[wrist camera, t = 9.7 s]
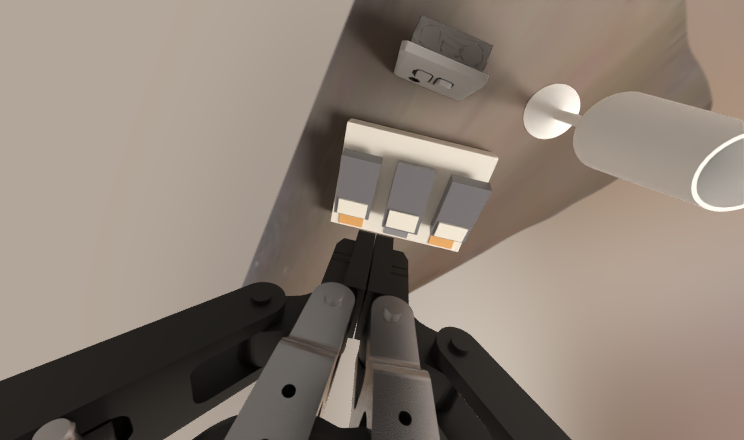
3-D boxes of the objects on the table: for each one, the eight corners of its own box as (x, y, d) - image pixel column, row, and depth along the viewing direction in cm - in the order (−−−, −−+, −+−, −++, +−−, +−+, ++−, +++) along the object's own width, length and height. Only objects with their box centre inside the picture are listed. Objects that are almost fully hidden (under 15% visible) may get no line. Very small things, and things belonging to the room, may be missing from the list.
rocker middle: (398, 159, 38) (398, 162, 36) (434, 168, 38) (437, 172, 36) (382, 221, 42) (381, 227, 40) (416, 229, 42) (417, 236, 40)
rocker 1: (345, 148, 37) (340, 155, 35) (383, 157, 37) (381, 165, 35) (337, 203, 43) (333, 213, 41) (370, 211, 43) (367, 221, 41)
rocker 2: (451, 173, 37) (452, 182, 35) (489, 182, 37) (492, 192, 35) (429, 226, 43) (429, 236, 41) (462, 234, 43) (464, 244, 41)
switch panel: (351, 118, 40) (346, 122, 37) (492, 152, 40) (500, 159, 37) (335, 212, 47) (329, 223, 44) (454, 241, 47) (458, 254, 44)
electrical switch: (392, 74, 37) (392, 66, 28) (408, 29, 35) (414, 6, 26) (459, 102, 38) (479, 103, 29) (479, 59, 36) (506, 47, 27)
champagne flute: (512, 114, 38) (647, 175, 17) (559, 70, 35) (795, 76, 14) (543, 149, 39) (703, 245, 18) (591, 110, 37) (845, 170, 15)
